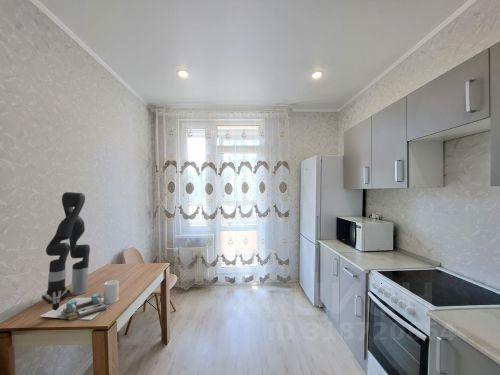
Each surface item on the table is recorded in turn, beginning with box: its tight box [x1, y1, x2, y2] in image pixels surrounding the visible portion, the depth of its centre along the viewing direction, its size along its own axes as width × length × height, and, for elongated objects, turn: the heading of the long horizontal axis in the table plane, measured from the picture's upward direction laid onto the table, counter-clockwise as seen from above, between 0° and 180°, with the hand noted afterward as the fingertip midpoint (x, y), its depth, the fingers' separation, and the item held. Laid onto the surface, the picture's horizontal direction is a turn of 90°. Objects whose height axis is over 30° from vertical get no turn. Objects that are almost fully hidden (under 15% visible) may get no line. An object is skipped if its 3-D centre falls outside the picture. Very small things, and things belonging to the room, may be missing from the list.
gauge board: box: [62, 300, 107, 323], centre depth 138 cm, size 16×18×3 cm
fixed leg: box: [90, 292, 102, 305], centre depth 144 cm, size 10×4×5 cm, turn 49°
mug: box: [102, 279, 120, 305], centre depth 153 cm, size 12×8×12 cm
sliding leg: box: [65, 299, 78, 313], centre depth 134 cm, size 10×4×5 cm, turn 49°
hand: (55, 309), depth 131 cm, fingers closed
